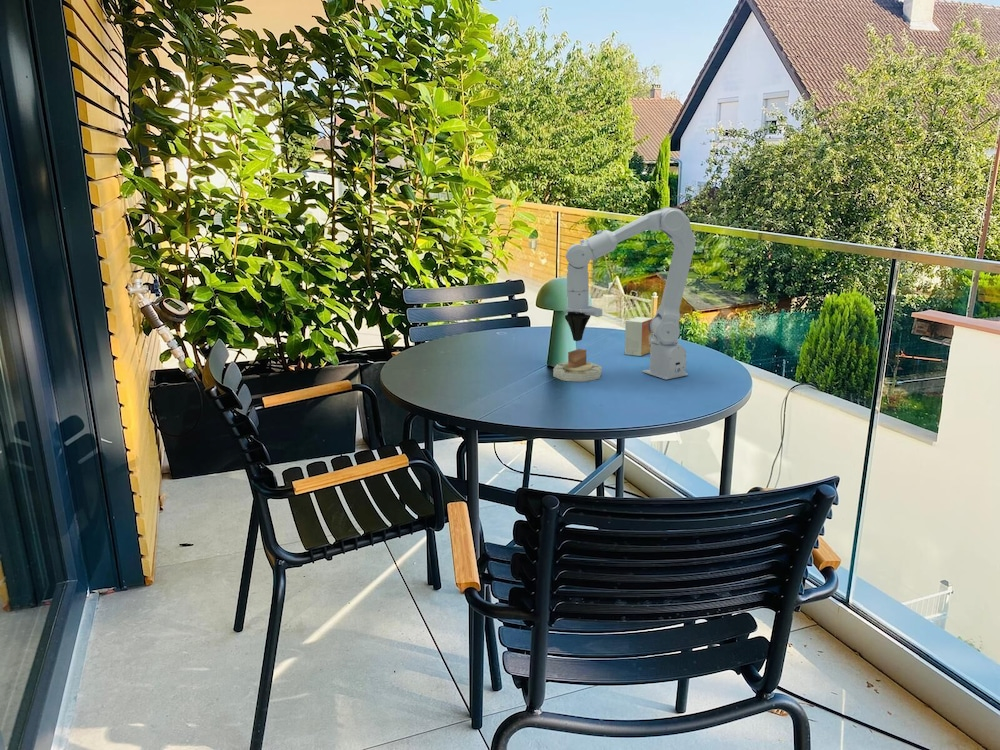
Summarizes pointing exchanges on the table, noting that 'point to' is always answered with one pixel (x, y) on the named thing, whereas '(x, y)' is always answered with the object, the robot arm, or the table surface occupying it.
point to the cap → (577, 361)
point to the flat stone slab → (577, 373)
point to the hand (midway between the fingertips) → (577, 340)
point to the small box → (638, 336)
